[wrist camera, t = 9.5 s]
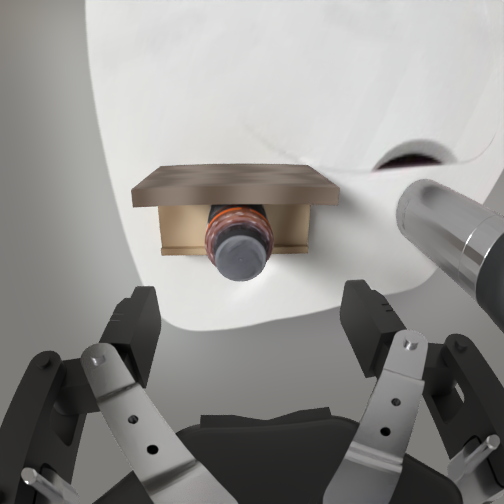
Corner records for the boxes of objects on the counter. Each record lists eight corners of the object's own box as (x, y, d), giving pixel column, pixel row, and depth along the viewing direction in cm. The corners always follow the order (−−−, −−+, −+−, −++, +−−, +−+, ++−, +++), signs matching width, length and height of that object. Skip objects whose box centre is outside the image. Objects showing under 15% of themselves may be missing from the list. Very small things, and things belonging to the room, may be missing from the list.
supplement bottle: (199, 218, 33) (185, 267, 23) (230, 174, 31) (230, 206, 21) (242, 246, 35) (247, 304, 25) (274, 206, 33) (295, 250, 23)
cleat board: (307, 165, 34) (339, 187, 24) (301, 242, 38) (326, 289, 28) (160, 166, 32) (131, 189, 23) (166, 244, 37) (146, 292, 27)
